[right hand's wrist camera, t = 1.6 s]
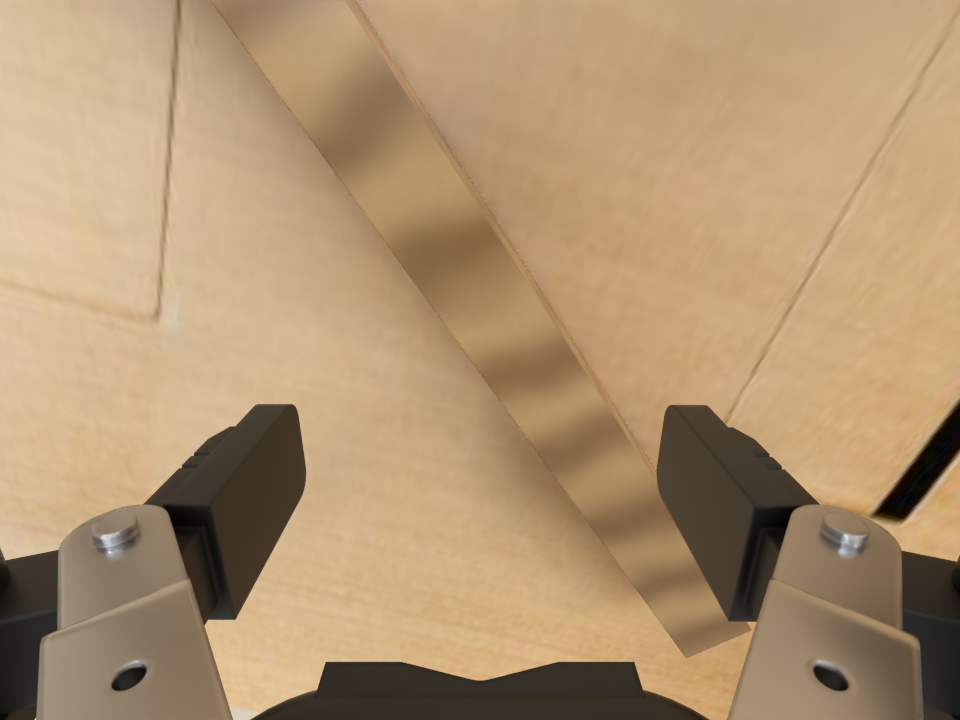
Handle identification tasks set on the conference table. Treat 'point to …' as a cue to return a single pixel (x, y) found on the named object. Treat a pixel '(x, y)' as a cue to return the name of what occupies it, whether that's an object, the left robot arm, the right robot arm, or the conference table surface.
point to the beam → (477, 288)
